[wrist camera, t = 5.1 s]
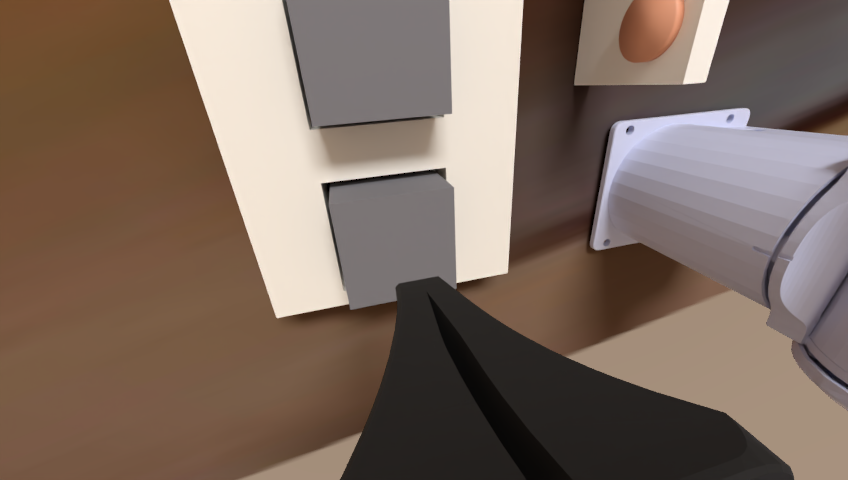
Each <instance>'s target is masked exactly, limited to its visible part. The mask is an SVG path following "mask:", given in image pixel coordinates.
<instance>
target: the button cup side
mask: <svg viewBox="0 0 848 480" xmlns="http://www.w3.org/2000/svg"><path fill="white" fill-rule="evenodd" d="M329 209H330V214H331V219H332V224H333V228H334V233H335V238H336V243H337V248H338V253H339V257H340V262H341V267H342V272H343V277H344V281H345V286H346V291H347V296H348V301H349V305H350V310H353V309H358V308H363V307H368V306H373V305H378V304H383V303H388V302H393V301H397V297H396V289H395V287H396V286H397V285H398V284H399V283H404V282H409V281H415V280H420V279H425V278H431V277H436V276H439V277H440V278H441V279H443V280H444V281H445V282H447V283H448V284H449V285H450V286H452V287H453V288H454V289H457V285H456V246H455V206H454V187H453V186H452V185H451V184H450V183H448V182H447V181H446V180H445V179H444V178H443V177H441V176H440V175H439V174H438V173H437V172H436V171H427V172H419V173H411V174H404V175H396V176H388V177H380V178H372V179H364V180H356V181H348V182H340V183H332V184H330V192H329Z"/></svg>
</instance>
